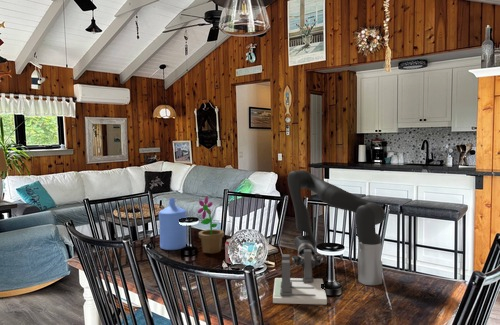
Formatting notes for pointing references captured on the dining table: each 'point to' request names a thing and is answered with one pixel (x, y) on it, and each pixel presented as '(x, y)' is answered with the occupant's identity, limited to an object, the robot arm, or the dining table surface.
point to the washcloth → (271, 249)
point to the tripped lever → (308, 266)
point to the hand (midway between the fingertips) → (308, 266)
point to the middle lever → (286, 257)
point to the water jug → (172, 227)
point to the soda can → (227, 251)
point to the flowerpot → (209, 231)
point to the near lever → (286, 279)
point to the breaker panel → (301, 292)
